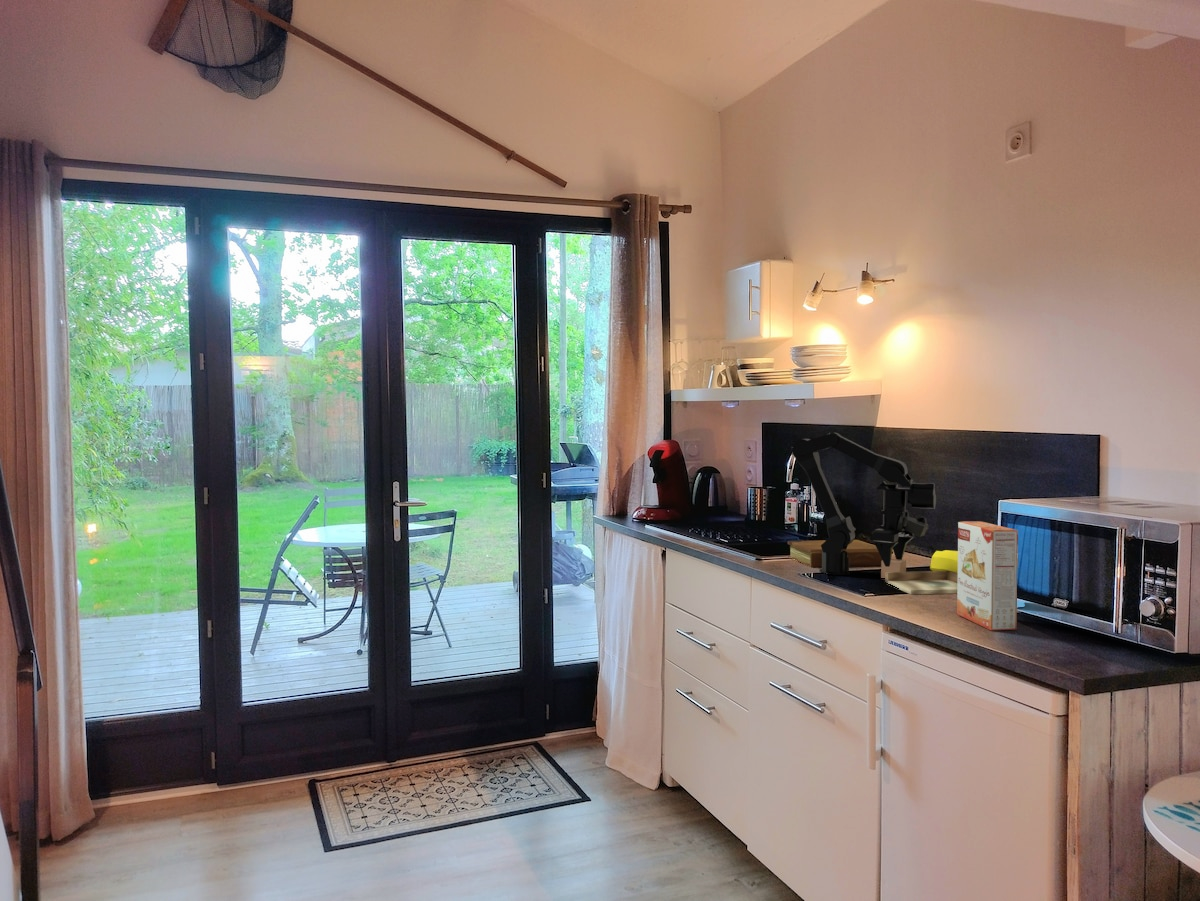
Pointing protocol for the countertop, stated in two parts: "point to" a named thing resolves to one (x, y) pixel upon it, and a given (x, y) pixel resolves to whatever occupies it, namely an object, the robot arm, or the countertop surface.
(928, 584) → the arena
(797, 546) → the diary
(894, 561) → the cube
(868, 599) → the countertop surface
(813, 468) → the robot arm
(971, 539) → the cracker box
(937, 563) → the faceted yellow capsule
